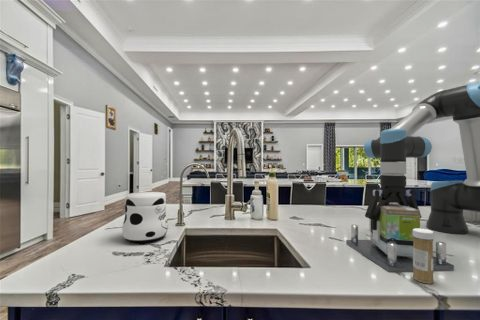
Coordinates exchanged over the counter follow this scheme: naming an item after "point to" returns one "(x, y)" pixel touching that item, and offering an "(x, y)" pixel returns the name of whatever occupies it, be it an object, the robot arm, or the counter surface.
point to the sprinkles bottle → (423, 255)
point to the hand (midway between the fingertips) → (392, 239)
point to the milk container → (145, 216)
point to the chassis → (395, 255)
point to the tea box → (397, 228)
